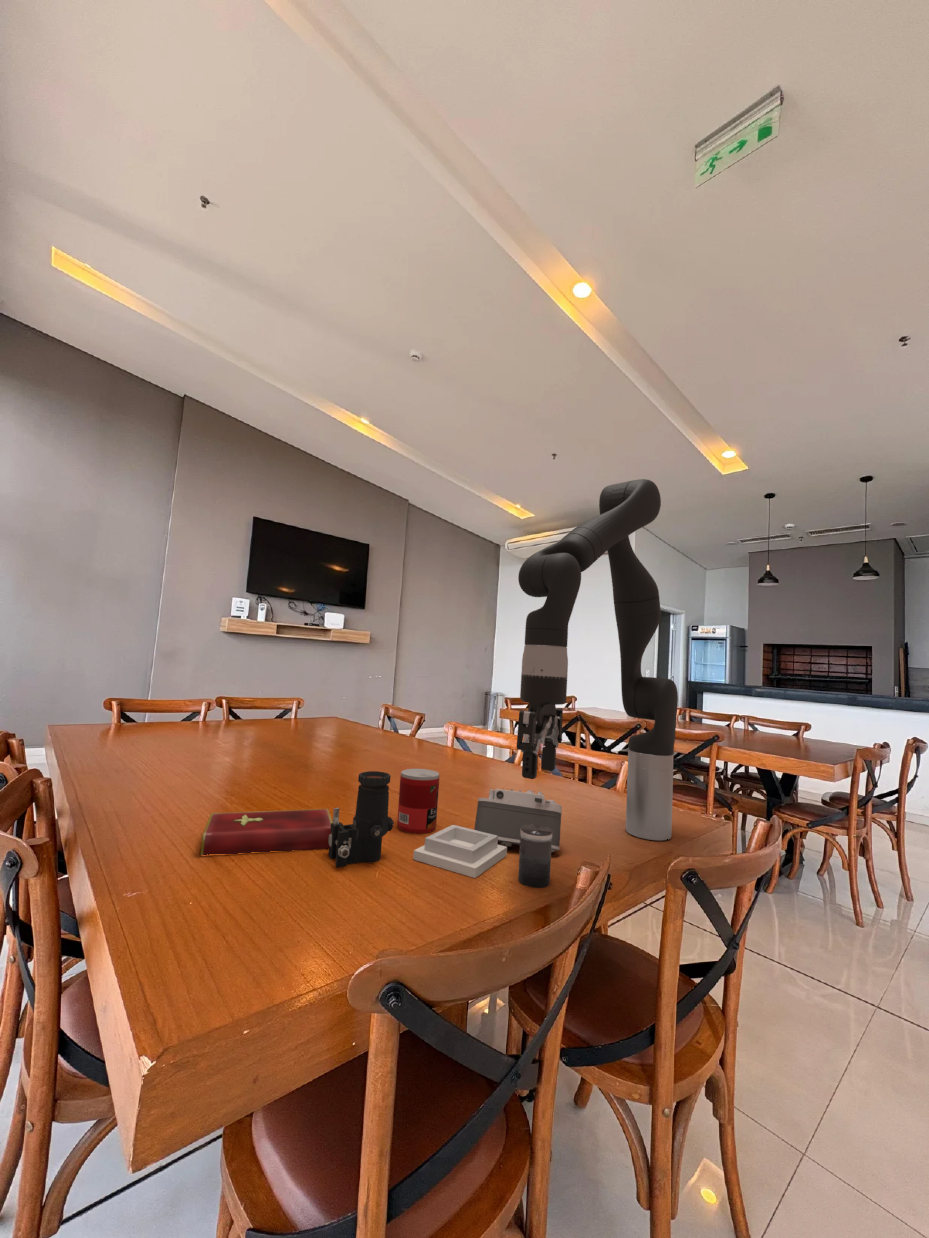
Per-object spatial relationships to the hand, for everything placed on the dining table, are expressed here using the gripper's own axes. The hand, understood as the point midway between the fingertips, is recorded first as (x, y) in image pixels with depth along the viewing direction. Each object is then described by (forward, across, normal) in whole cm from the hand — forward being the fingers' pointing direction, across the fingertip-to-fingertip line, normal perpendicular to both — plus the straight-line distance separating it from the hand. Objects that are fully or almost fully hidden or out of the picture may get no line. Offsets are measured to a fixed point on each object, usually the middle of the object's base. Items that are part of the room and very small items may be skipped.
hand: (539, 773), depth 83 cm
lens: (+17, 0, 0) cm, 17 cm away
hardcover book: (+18, -14, +45) cm, 50 cm away
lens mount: (+17, +1, +14) cm, 22 cm away
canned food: (+17, +9, +29) cm, 35 cm away
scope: (+17, -10, +27) cm, 33 cm away
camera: (+17, +14, +9) cm, 24 cm away
